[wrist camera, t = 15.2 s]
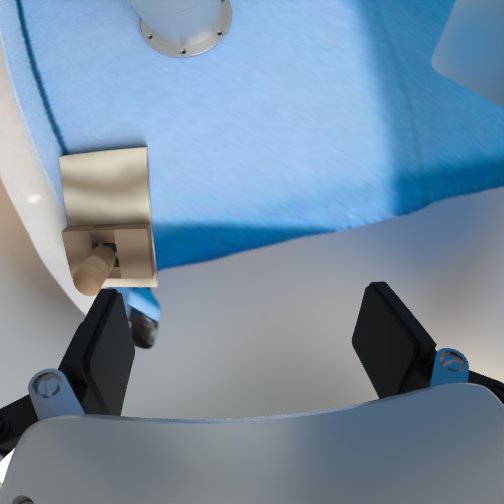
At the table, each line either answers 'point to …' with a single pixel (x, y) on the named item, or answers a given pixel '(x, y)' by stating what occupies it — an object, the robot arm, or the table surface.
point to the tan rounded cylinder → (95, 269)
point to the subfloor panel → (110, 213)
